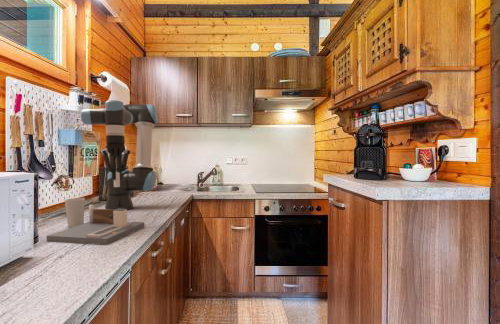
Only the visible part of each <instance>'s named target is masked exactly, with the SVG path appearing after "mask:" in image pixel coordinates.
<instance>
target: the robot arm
mask: <svg viewBox="0 0 500 324" xmlns="http://www.w3.org/2000/svg"><path fill="white" fill-rule="evenodd" d="M157 110H158V109H157V108H156V106H155V105H154V104H150V103H149V104H147V103H145V104H144V103H141V104H139V103H137V104H136V103H135V104H133V103H130V104H124V102H123V101H121V100H114V99H113V100H110V99H109V100H107V101H105V105H104V107H103V108H84V109H82V110H81V112H80V118H81V121H82V123H83V124H84V125H90V126H93V125H99V126H100V125H105V134H106V136H105V137H106V138H105V141H106V142H105V143H106V146H105V148H104V149H102V150H100V154H101V156H102V157H103V162H104V165H105V168H106V172H108V173H107V179H106V182H107V199H106V203H105V206H104V209H118V208H119V209H127V211H128V210H131V209H133V208H134V202H133V200H132V198H131V194H130V192H139V191H141V192H146V191H153V189H154V188H155V187H156V186H155V185H156V183H157V173H156V172H157V171H156V170H154V168H153V167H152V146H153V145H152V143H153V142H152V141H153V139H152V138H153V128H155V126H156V124H157V123H159V117H158V111H157ZM131 124H134V126H135V127H136V128H137V130H136V131H137V132H136V153H135V165H134V166H133V167H132V171H130V169H129V168H127V163H128V159H129V155H130V154H131V150H128V149H127V148H126V146H125V140H126V139H125V136H124V135H125V126H129V125H131Z"/></svg>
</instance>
